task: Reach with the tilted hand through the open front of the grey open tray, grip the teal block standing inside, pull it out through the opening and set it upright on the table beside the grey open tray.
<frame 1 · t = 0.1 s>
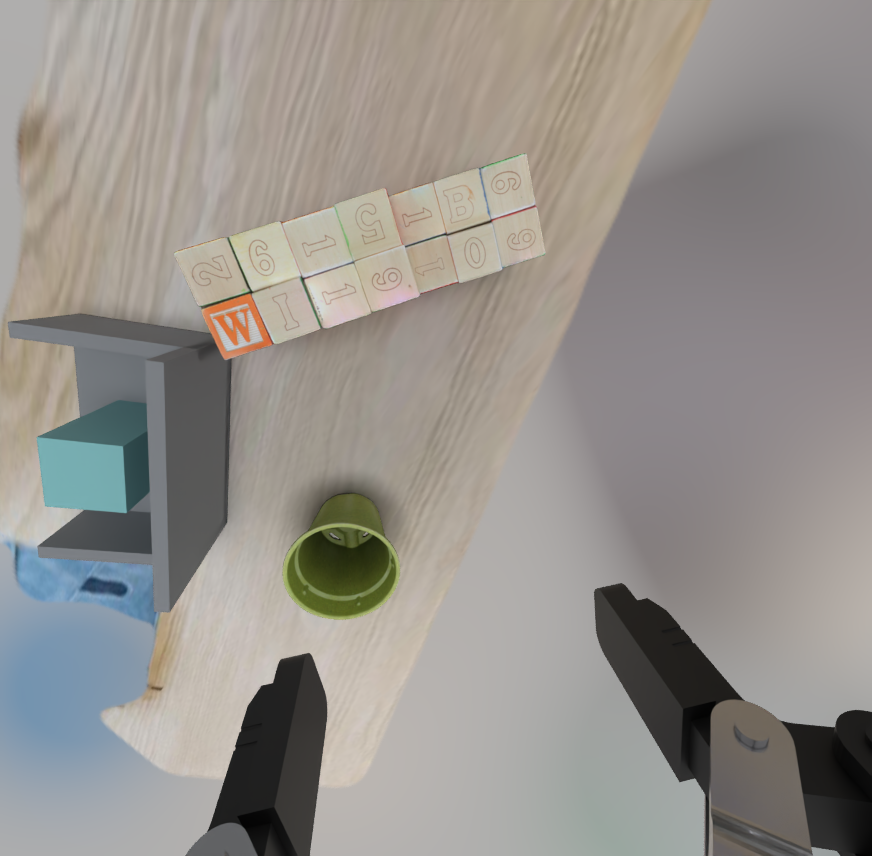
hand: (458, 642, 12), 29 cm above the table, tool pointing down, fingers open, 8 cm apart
stack of blocks: (379, 262, 36), on the table
grey open tray: (157, 427, 38), on the table
plant pot: (349, 517, 43), on the table
block: (151, 431, 37), point 1 cm above the table, touching grey open tray
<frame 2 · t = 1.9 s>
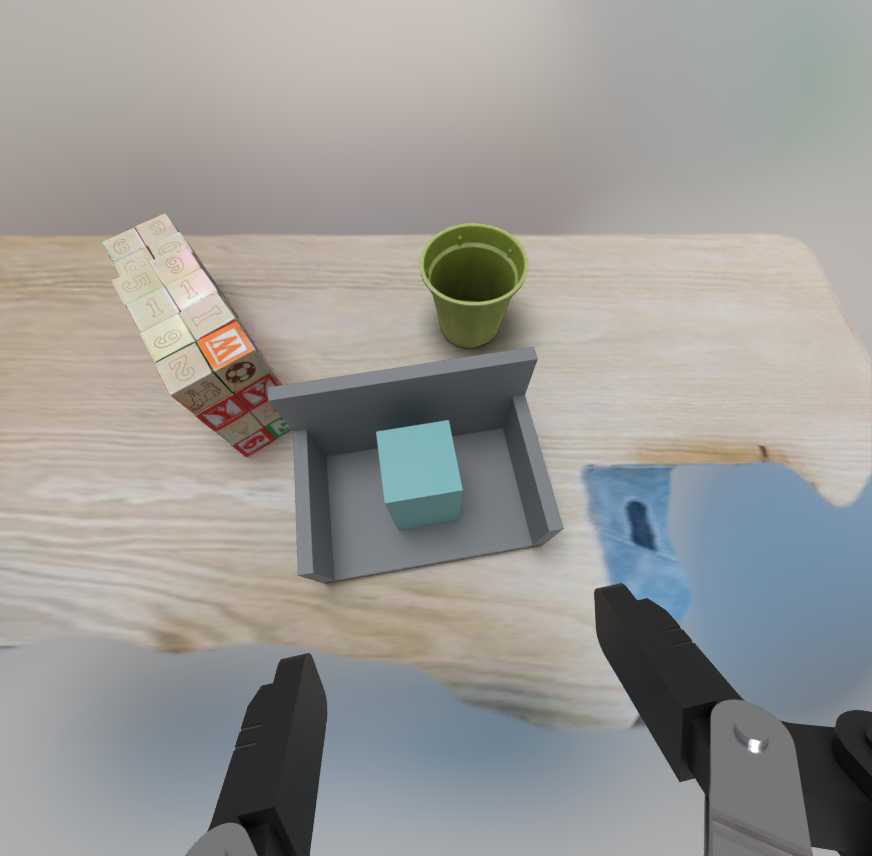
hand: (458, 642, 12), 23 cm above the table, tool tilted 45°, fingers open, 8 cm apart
stack of blocks: (231, 363, 44), on the table
grey open tray: (424, 499, 37), on the table
plant pot: (468, 326, 45), on the table
block: (424, 496, 36), point 1 cm above the table, touching grey open tray
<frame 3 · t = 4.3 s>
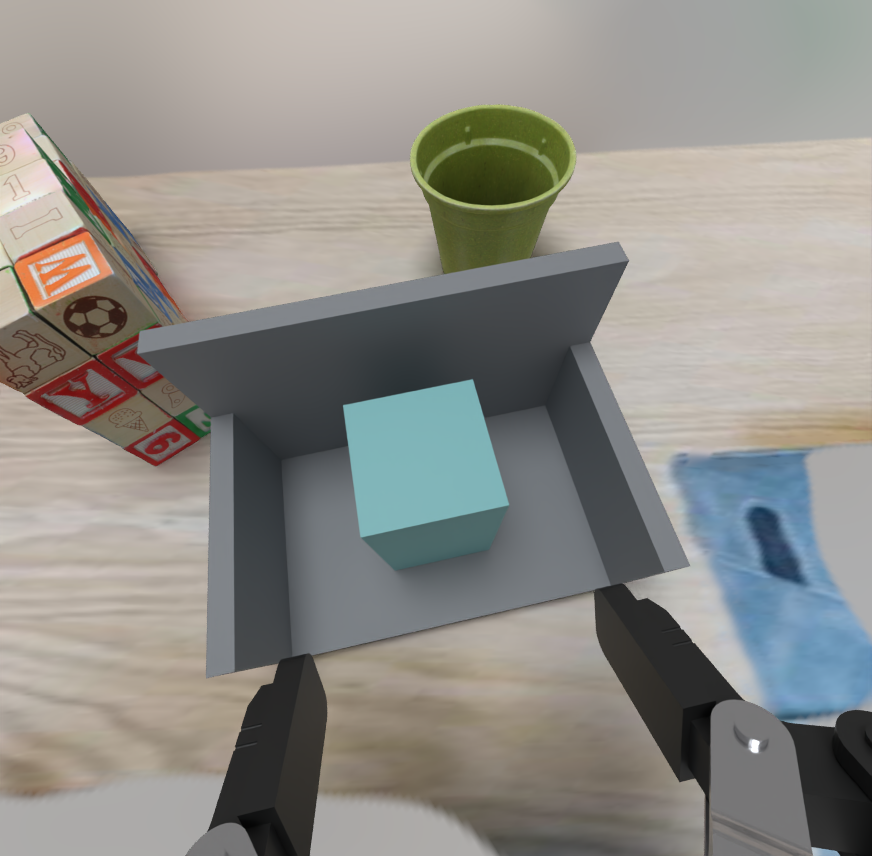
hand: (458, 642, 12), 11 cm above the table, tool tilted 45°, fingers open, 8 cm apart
stack of blocks: (144, 335, 31), on the table
grey open tray: (433, 517, 24), on the table
plant pot: (482, 270, 32), on the table
block: (432, 513, 23), point 1 cm above the table, touching grey open tray
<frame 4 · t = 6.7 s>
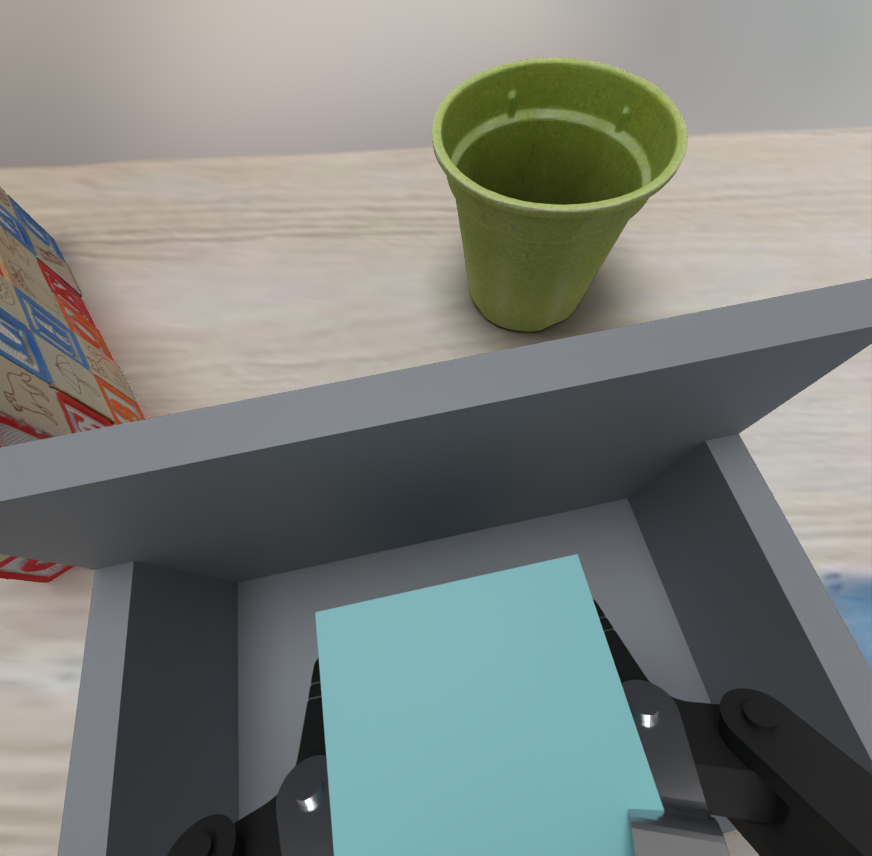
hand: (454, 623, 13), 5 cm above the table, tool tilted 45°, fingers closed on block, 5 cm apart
stack of blocks: (56, 379, 23), on the table
grey open tray: (465, 677, 16), on the table
plant pot: (521, 292, 24), on the table
block: (466, 680, 15), point 1 cm above the table, touching grey open tray, gripper
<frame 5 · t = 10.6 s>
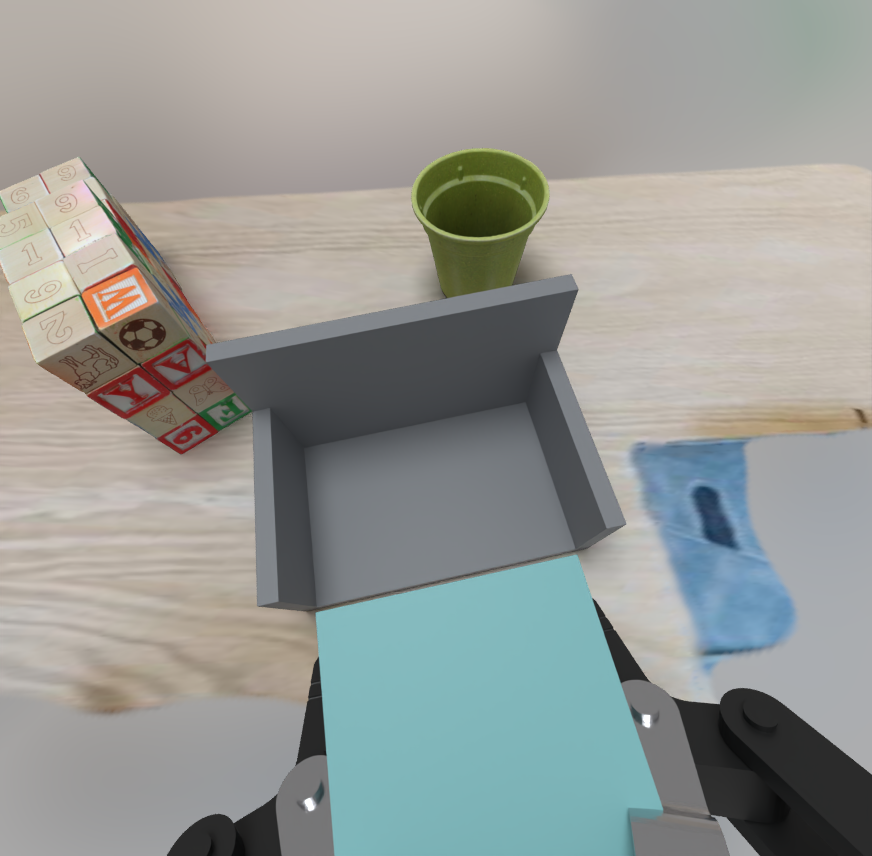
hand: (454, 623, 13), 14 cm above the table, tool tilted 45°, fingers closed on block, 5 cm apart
stack of blocks: (171, 343, 36), on the table
grey open tray: (431, 495, 29), on the table
plant pot: (474, 285, 37), on the table
block: (466, 680, 15), point 11 cm above the table, touching gripper
when the fingers open (6 cm above the table, at t = 14.7 s): block drops 2 cm, on the table.
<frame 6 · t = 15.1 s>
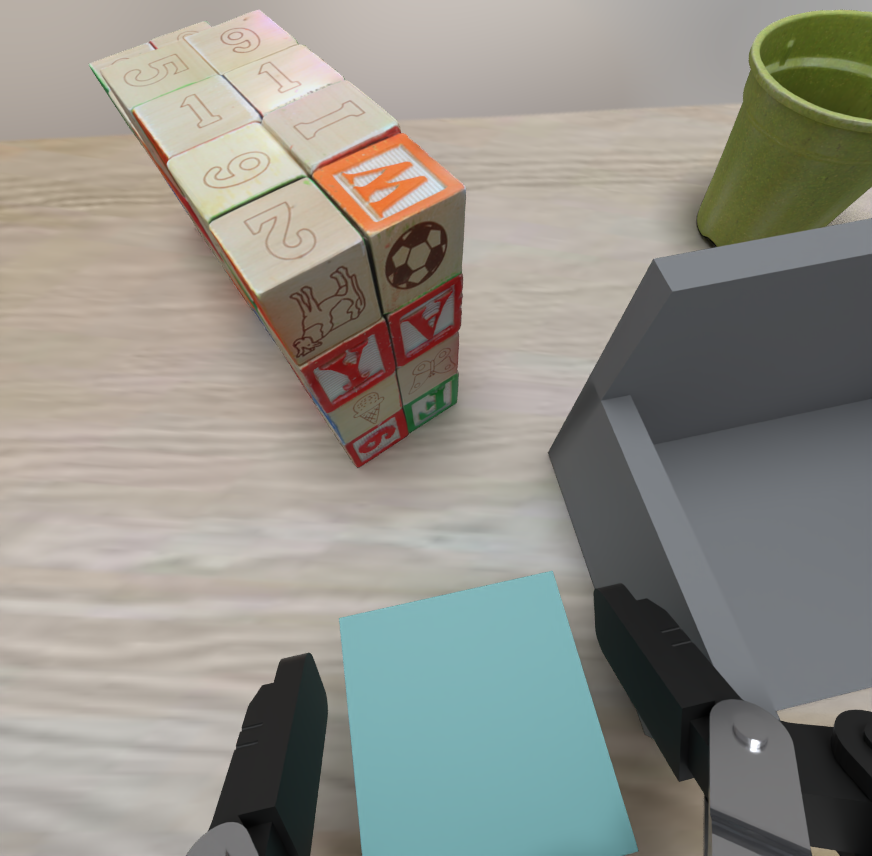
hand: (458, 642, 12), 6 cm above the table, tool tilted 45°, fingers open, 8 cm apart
stack of blocks: (312, 307, 26), on the table
grey open tray: (790, 535, 19), on the table
plant pot: (743, 231, 27), on the table
block: (463, 676, 17), on the table
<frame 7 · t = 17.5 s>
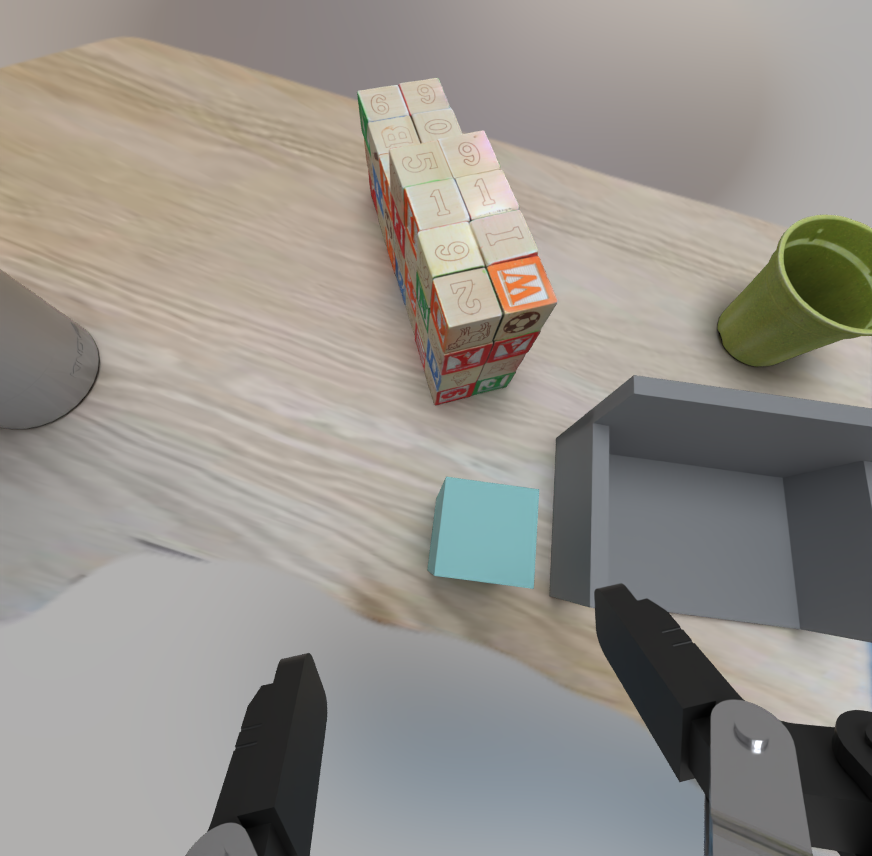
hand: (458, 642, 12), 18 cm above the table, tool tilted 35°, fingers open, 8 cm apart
stack of blocks: (434, 286, 37), on the table
grey open tray: (673, 532, 31), on the table
plant pot: (747, 336, 37), on the table
block: (466, 538, 31), on the table
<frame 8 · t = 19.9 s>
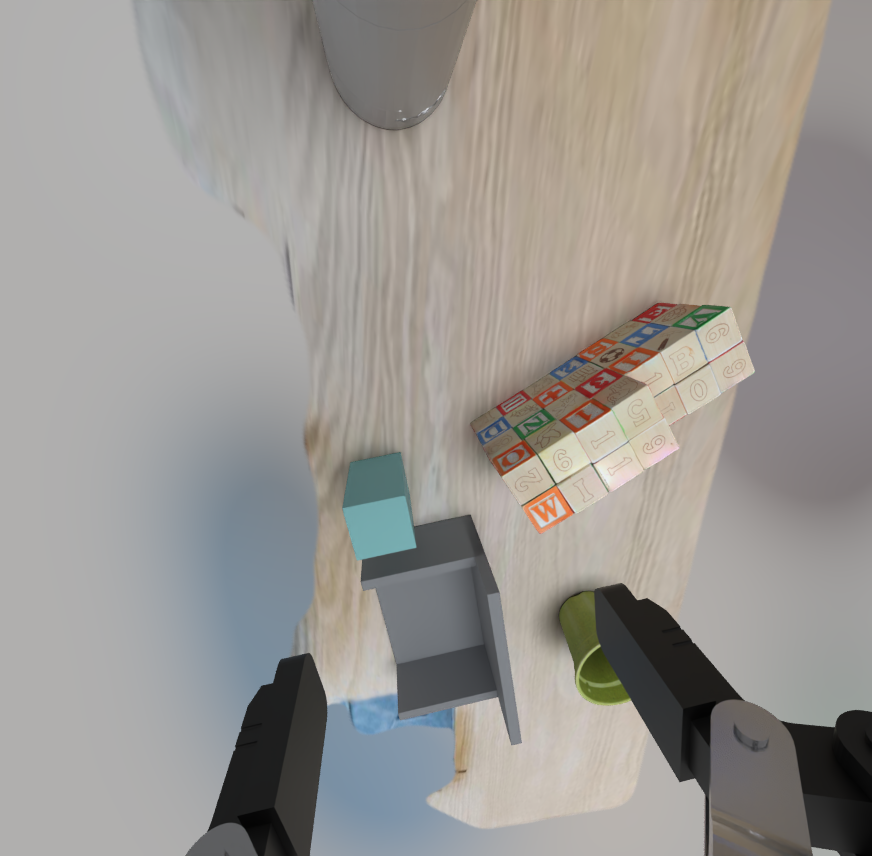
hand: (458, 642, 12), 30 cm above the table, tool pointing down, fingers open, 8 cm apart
stack of blocks: (574, 388, 43), on the table
grey open tray: (430, 593, 48), on the table
plant pot: (582, 609, 52), on the table
block: (380, 479, 43), on the table
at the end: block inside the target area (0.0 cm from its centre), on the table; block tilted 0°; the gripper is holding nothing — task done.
